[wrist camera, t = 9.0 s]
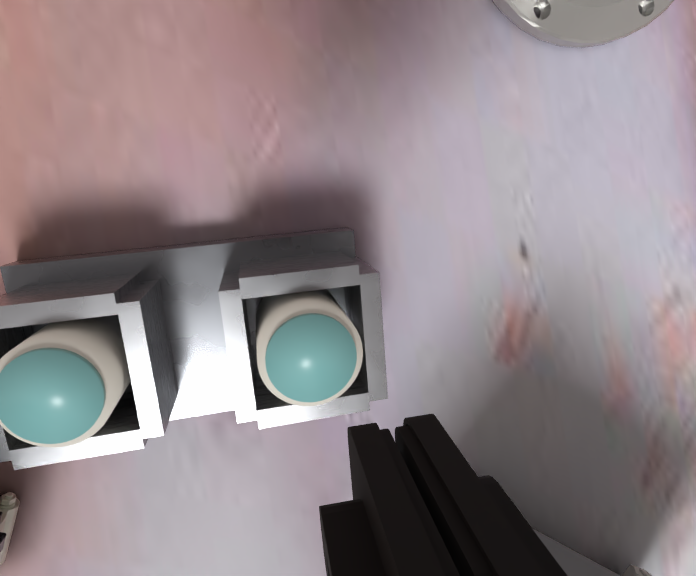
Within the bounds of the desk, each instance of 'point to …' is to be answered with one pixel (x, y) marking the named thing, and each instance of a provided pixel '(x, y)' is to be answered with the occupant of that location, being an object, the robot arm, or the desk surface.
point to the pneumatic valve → (7, 521)
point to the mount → (192, 328)
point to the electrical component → (581, 561)
